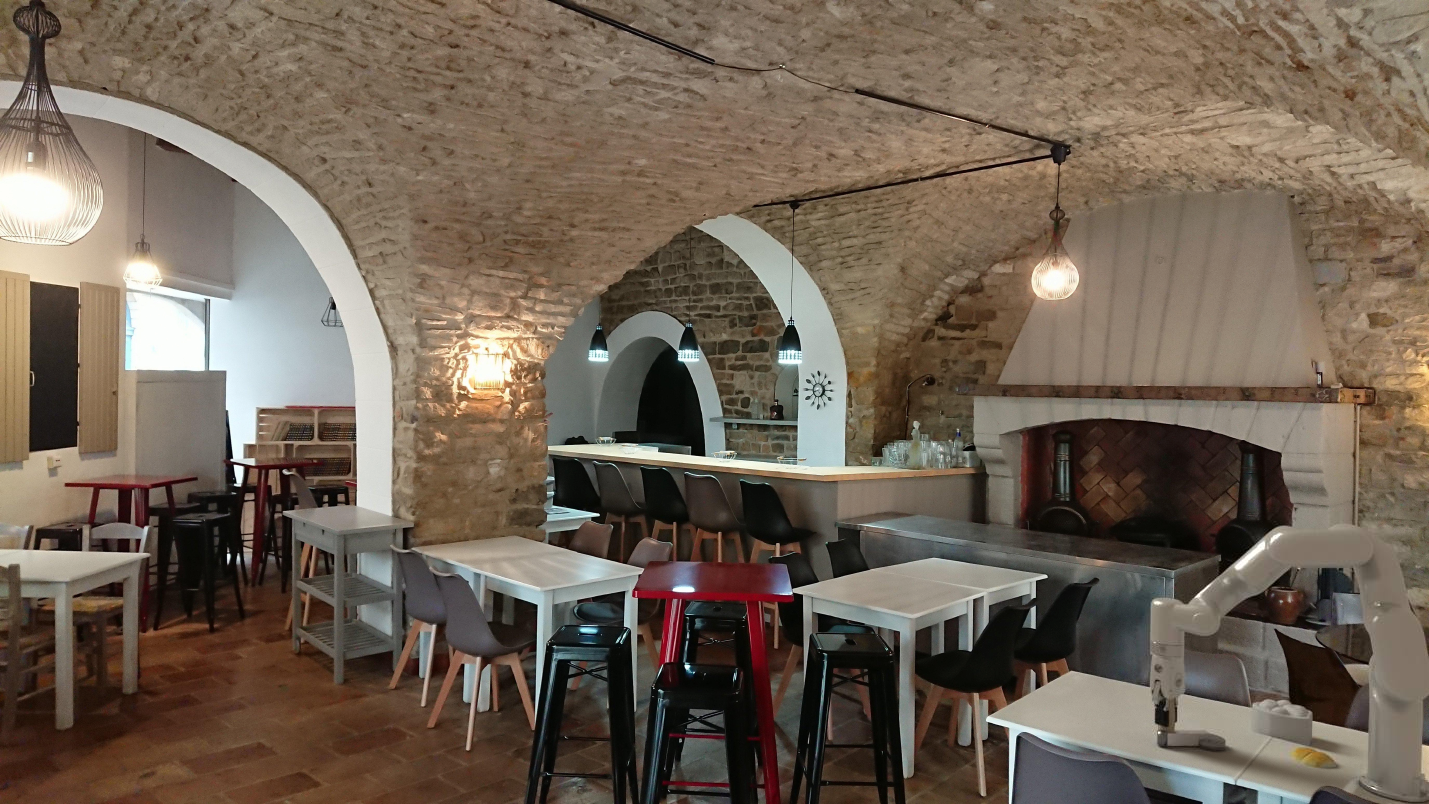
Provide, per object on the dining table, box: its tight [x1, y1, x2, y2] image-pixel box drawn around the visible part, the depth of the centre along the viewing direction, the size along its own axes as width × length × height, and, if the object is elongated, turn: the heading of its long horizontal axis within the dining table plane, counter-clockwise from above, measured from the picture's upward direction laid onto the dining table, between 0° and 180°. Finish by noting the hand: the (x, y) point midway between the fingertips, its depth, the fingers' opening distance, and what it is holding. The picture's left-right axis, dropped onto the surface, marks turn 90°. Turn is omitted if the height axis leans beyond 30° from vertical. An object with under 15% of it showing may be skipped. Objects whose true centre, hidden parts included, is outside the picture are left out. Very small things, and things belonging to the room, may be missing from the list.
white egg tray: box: [1251, 698, 1313, 748], centre depth 231 cm, size 10×13×9 cm
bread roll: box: [1290, 746, 1337, 769], centre depth 212 cm, size 8×9×4 cm
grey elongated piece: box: [1156, 729, 1226, 753], centre depth 219 cm, size 17×7×4 cm, turn 95°
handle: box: [1157, 680, 1181, 731], centre depth 221 cm, size 5×6×15 cm
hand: (1165, 722), depth 221 cm, fingers closed on handle, 4 cm apart
